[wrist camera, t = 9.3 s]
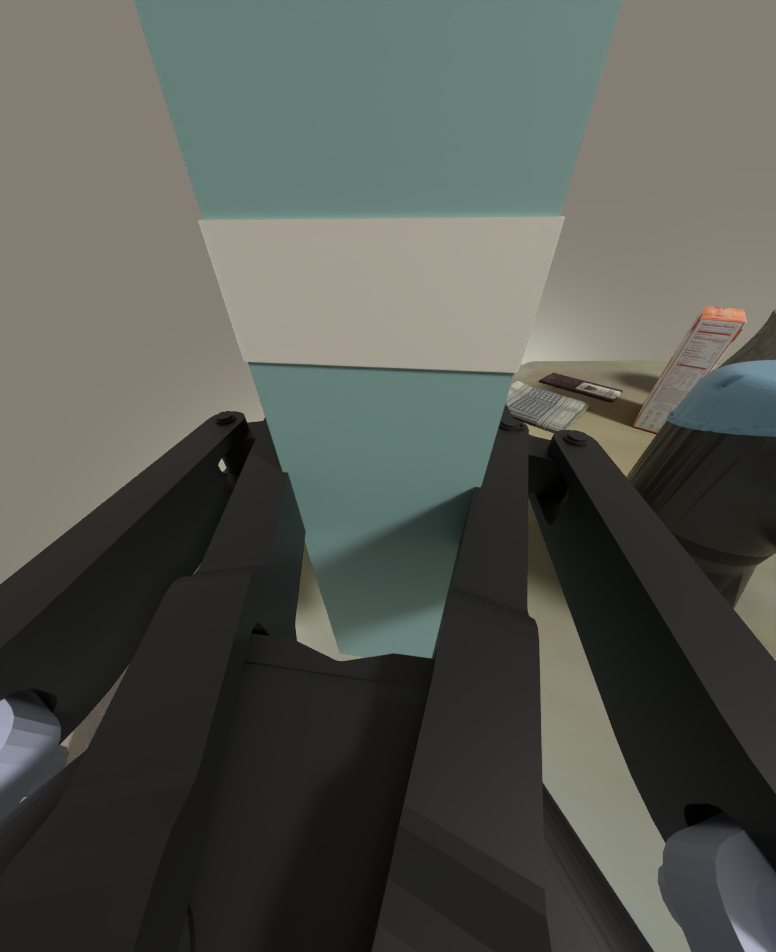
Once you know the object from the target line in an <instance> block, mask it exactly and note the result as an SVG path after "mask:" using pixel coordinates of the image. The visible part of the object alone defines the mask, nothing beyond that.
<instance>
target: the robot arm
mask: <svg viewBox="0 0 776 952" xmlns="http://www.w3.org/2000/svg"><path fill="white" fill-rule="evenodd" d="M221 459H223V461H224V463H225V465H226V469H225V471H223V472H222V471H221V470H220V468H219V466H218V463H219V462H220V460H221ZM528 496H529V499H530V502H531V505H532V508H533V510H534V513H535V516H536V519H537V521H538V524H539V527H540V530H541V532H542V535H543V538H544V541H545V543H546V546H547V549H548V552H549V554H550V557H551V560H552V563H553V565H554V568H555V571H556V574H557V577H558V579H559V582H560V585H561V588H562V590H563V593H564V596H565V599H566V601H567V604H568V607H569V610H570V612H571V615H572V618H573V621H574V623H575V626H576V629H577V632H578V634H579V637H580V640H581V643H582V646H583V648H584V651H585V654H586V657H587V659H588V662H589V665H590V668H591V670H592V673H593V676H594V679H595V681H596V684H597V687H598V690H599V692H600V695H601V698H602V701H603V703H604V706H605V709H606V712H607V715H608V717H609V720H610V723H611V726H612V728H613V731H614V734H615V737H616V739H617V742H618V744H619V747H620V749H621V752H622V754H623V757H624V759H625V761H626V764H627V766H628V769H629V771H630V774H631V776H632V778H633V780H634V782H635V785H636V787H637V789H638V791H639V793H640V795H641V797H642V799H643V801H644V803H645V805H646V807H647V809H648V811H649V813H650V815H651V818H652V820H653V821H654V823H655V825H656V827H657V829H658V830H659V832H660V834H661V836H662V838H663V839H664V841H665V843H666V845H665V848H664V851H663V865H662V866H661V867H660V868H659V871H658V884H659V887H660V891H661V895H662V898H663V900H664V902H665V904H666V906H667V908H668V910H669V912H670V913H671V915H672V917H673V918H674V920H675V921H676V922H677V923H678V924H679V925H680V927H681V928H682V929H683V932H684V934H685V937H686V939H687V942H688V944H689V947H690V949H691V952H776V661H775V660H774V659H773V657H772V656H771V655H770V654H769V652H768V651H767V650H766V649H765V647H764V646H763V645H762V644H761V643H760V641H759V640H758V639H757V638H756V636H755V635H754V634H753V633H752V631H751V630H750V629H749V628H748V627H747V625H746V624H745V623H744V622H743V620H742V619H741V618H740V617H739V615H738V614H737V613H736V612H735V611H734V608H735V606H736V604H737V602H738V600H739V598H740V596H741V594H742V592H743V591H744V589H745V587H746V585H747V583H748V581H749V579H750V577H751V575H752V573H753V571H754V569H755V568H756V566H757V565H758V564H760V563H761V562H763V561H764V560H766V559H767V558H769V557H770V556H772V555H773V554H775V553H776V360H760V361H748V362H741V363H735V364H730V365H727V366H723V367H720V368H718V369H716V370H713V371H711V372H710V373H708V374H706V375H705V376H704V377H702V378H701V379H700V380H699V381H698V382H697V383H696V384H695V386H694V387H693V388H692V389H691V390H690V392H689V393H688V394H687V395H686V396H685V398H684V399H683V400H682V401H681V402H680V404H679V405H678V406H677V407H676V408H675V409H673V410H672V411H671V412H670V413H669V414H668V416H667V421H666V422H665V424H664V425H663V427H662V428H661V429H660V431H659V432H658V434H657V435H656V436H655V438H654V439H653V440H652V442H651V443H650V445H649V446H648V447H647V449H646V450H645V452H644V453H643V454H642V456H641V457H640V459H639V460H638V461H637V463H636V464H635V466H634V467H633V468H632V470H631V471H630V473H629V474H628V475H627V477H625V475H624V474H623V473H622V472H621V470H620V469H619V468H618V467H617V466H616V464H615V463H614V462H613V461H612V459H611V458H610V457H609V456H608V454H607V453H606V452H605V451H604V450H603V448H602V447H601V446H600V445H599V443H598V442H597V441H596V440H595V439H593V438H592V437H590V436H588V435H586V434H585V433H583V432H580V431H576V430H574V431H572V430H560V431H557V432H555V434H554V435H553V437H552V439H551V440H547V439H543V438H538V437H535V436H531V435H529V429H528V427H527V425H525V424H524V423H523V422H521V421H519V420H517V419H513V417H512V415H511V413H510V410H509V409H508V406H507V405H506V403H505V407H504V410H503V413H502V417H501V420H500V424H499V427H498V431H497V434H496V437H495V441H494V444H493V448H492V451H491V455H490V458H489V461H488V465H487V468H486V472H485V475H484V479H483V482H482V485H481V487H475V488H474V491H473V495H472V499H471V502H470V506H469V510H468V514H467V517H466V521H465V525H464V528H463V532H462V536H461V539H460V543H459V547H458V551H457V555H456V559H455V564H454V568H453V572H452V576H451V580H450V585H449V589H448V593H447V597H446V601H445V606H444V610H443V614H442V618H441V622H440V627H439V631H438V635H437V639H436V643H435V647H434V651H433V655H432V658H425V657H418V656H411V655H403V654H396V653H392V654H386V655H380V656H374V657H367V658H361V659H355V660H349V661H336V660H334V659H332V658H330V657H328V656H326V655H324V654H322V653H320V652H318V651H316V650H314V649H312V648H310V647H308V646H306V645H304V644H302V643H300V642H298V641H297V637H296V629H295V619H296V609H297V601H298V593H299V584H300V576H301V568H302V559H303V551H304V542H305V534H306V531H305V528H304V524H303V521H302V518H301V514H300V511H299V508H298V504H297V501H296V498H295V494H294V491H293V488H292V484H291V481H290V478H289V474H288V472H283V471H282V468H281V465H280V462H279V459H278V455H277V452H276V449H275V446H274V443H273V440H272V436H271V433H270V430H269V427H268V424H267V421H266V417H265V419H264V421H259V422H250V423H247V421H246V418H245V416H244V414H243V413H241V412H235V411H234V412H230V411H226V412H221V413H219V414H217V415H214V416H213V417H211V418H209V419H208V420H207V421H205V422H204V423H203V424H202V425H200V426H199V427H198V428H197V429H195V430H194V431H193V432H192V433H190V434H189V435H188V436H187V437H185V438H184V439H183V440H182V441H180V442H179V443H178V444H176V445H175V446H174V447H173V448H172V449H170V450H169V451H168V452H166V453H165V454H164V455H163V456H162V457H160V458H159V459H158V460H156V461H155V462H154V463H153V464H151V465H150V466H149V467H148V468H146V469H145V470H144V471H143V472H141V473H140V474H139V475H138V476H136V477H135V478H134V479H132V480H131V481H130V482H129V483H127V484H126V485H125V486H124V487H122V488H121V489H120V490H119V491H117V492H116V493H115V494H114V495H113V496H111V497H110V498H109V499H107V500H106V501H105V502H103V503H102V504H101V505H100V506H98V507H97V508H96V509H95V510H94V511H92V512H91V513H90V514H88V515H87V516H86V517H85V518H83V519H82V520H81V521H80V522H79V523H77V524H76V525H75V526H73V527H72V528H71V529H70V530H68V531H67V532H66V533H65V534H63V535H62V536H61V537H59V538H58V539H57V540H56V541H55V542H53V543H52V544H51V545H49V546H48V547H47V548H46V549H44V550H43V551H42V552H41V553H39V554H38V555H37V556H36V557H34V558H33V559H32V560H31V561H29V562H28V563H27V564H26V565H24V566H23V567H22V568H21V569H19V570H18V571H17V572H16V573H14V574H13V575H12V576H10V577H9V578H8V579H7V580H6V581H4V582H3V583H2V584H0V952H654V951H653V949H652V948H651V946H650V945H649V943H648V942H647V940H646V939H645V937H644V936H643V934H642V933H641V931H640V930H639V928H638V927H637V925H636V924H635V922H634V921H633V919H632V918H631V916H630V914H629V913H628V911H627V910H626V908H625V907H624V905H623V904H622V902H621V901H620V899H619V898H618V896H617V895H616V893H615V892H614V890H613V889H612V887H611V886H610V884H609V883H608V881H607V880H606V878H605V877H604V875H603V873H602V872H601V870H600V869H599V867H598V866H597V864H596V863H595V861H594V860H593V858H592V857H591V855H590V854H589V852H588V851H587V849H586V848H585V846H584V845H583V843H582V842H581V840H580V839H579V837H578V835H577V834H576V832H575V831H574V829H573V828H572V826H571V825H570V823H569V822H568V820H567V819H566V817H565V816H564V814H563V813H562V811H561V810H560V808H559V807H558V805H557V804H556V802H555V801H554V799H553V798H552V796H551V794H550V793H549V791H548V790H547V788H546V787H545V785H544V784H543V782H542V747H541V704H540V660H539V635H538V627H537V624H536V621H535V619H533V618H531V617H530V616H529V614H528V610H527V564H528ZM201 562H202V563H201ZM200 564H201V565H200ZM199 565H200V567H199ZM198 567H199V569H198V571H197V572H196V573H195V574H194V572H195V571H196V569H197V568H198ZM193 574H194V575H193ZM192 575H193V576H192ZM130 662H131V663H130ZM129 664H130V665H129ZM128 665H129V667H128V669H127V671H126V673H125V675H124V677H123V679H122V681H121V683H120V685H119V687H118V689H117V691H116V693H115V695H114V697H113V699H112V701H111V703H110V705H109V707H108V709H107V711H106V713H105V715H104V717H103V719H102V721H101V723H100V725H99V726H98V728H97V730H96V732H95V734H94V736H93V738H92V740H91V742H90V744H89V746H88V748H87V750H86V751H85V752H84V753H82V754H81V755H80V756H79V757H77V758H76V759H75V760H74V761H72V762H71V763H70V764H69V765H67V766H66V767H65V768H64V766H65V764H66V762H67V758H68V754H69V753H68V750H67V747H64V746H61V745H60V744H61V743H62V742H63V741H64V740H65V739H66V737H68V736H69V735H70V734H71V732H72V731H73V730H74V729H75V728H76V727H77V726H78V725H79V724H80V723H81V722H82V721H83V720H84V719H85V718H86V717H87V716H88V714H89V713H90V712H91V711H92V710H93V709H94V707H95V706H96V705H97V704H98V703H99V702H100V700H101V699H102V698H103V697H104V696H105V695H106V693H107V692H108V691H109V690H110V689H111V687H112V686H113V685H114V683H115V682H116V681H117V680H118V678H119V677H120V676H121V674H122V673H123V672H124V670H125V669H126V668H127V666H128ZM63 768H64V769H63ZM23 797H27V798H26V799H25V800H23V801H22V802H21V803H19V802H20V801H21V800H22V799H23Z"/></svg>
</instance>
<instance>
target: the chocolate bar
mask: <svg viewBox="0 0 776 952" xmlns="http://www.w3.org/2000/svg"><path fill="white" fill-rule="evenodd" d="M539 382H540V383H544V384H547V385H551V386H554V387H558V388H561V389H565V390H569V391H572V392H576V393H579V394H583V395H586V396H590V397H593V398H597V399H600V400H604V401H607V402H612V401H613V400H614V399H616V398H617V397H618V396H619V395H620V394H621V393H622V390H618V389H614V388H610V387H606V386H603V385H599V384H595V383H591V382H587V381H583V380H579V379H575V378H571V377H567V376H563V375H560V374H556V373H552V374H550V375H549V376H547V377H545V378H543V379H541V380H540V381H539Z"/></svg>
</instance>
